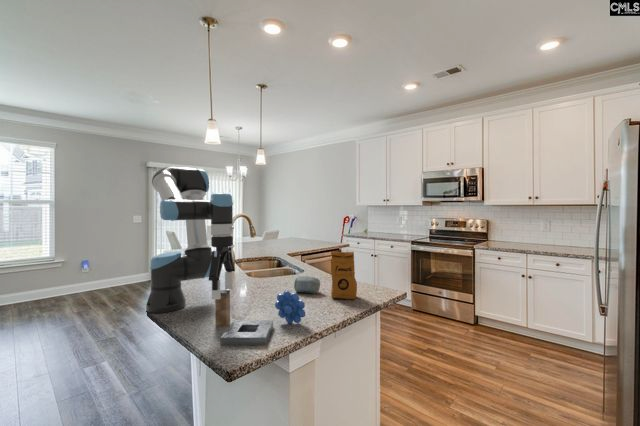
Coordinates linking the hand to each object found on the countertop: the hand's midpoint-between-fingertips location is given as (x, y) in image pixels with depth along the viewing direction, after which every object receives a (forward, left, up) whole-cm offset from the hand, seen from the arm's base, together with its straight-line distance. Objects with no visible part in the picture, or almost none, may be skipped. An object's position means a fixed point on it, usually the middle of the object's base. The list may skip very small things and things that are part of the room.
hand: (223, 293), depth 106 cm
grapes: (+24, 0, -12) cm, 27 cm away
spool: (+29, +41, -12) cm, 52 cm away
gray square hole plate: (+12, -10, -11) cm, 19 cm away
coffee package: (+47, +32, -12) cm, 58 cm away
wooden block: (0, 0, -11) cm, 11 cm away
